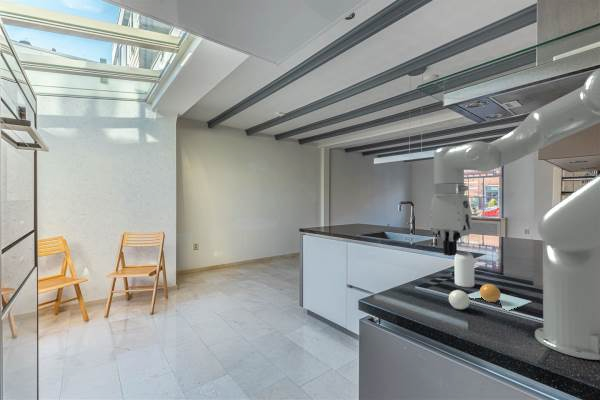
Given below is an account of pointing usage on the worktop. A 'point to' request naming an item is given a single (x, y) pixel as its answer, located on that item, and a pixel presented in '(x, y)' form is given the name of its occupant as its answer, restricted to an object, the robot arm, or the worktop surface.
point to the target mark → (505, 300)
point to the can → (464, 269)
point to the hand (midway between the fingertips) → (450, 254)
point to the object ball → (490, 293)
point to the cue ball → (459, 299)
